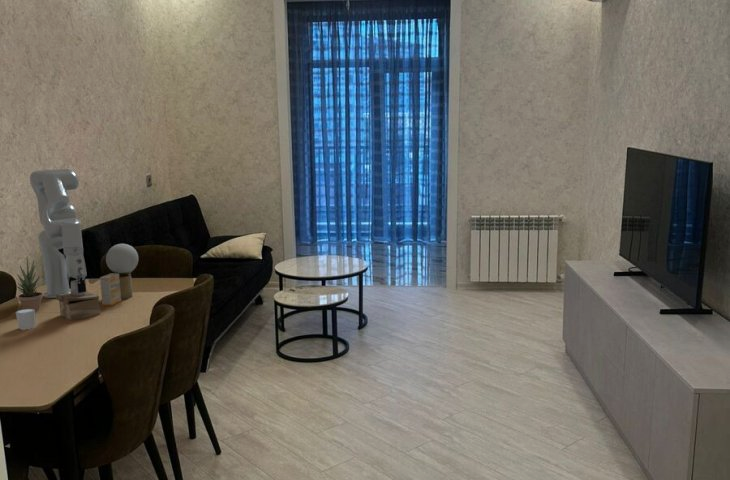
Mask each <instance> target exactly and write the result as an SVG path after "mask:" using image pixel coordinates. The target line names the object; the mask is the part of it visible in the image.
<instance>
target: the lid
mask: <svg viewBox="0 0 730 480" xmlns="http://www.w3.org/2000/svg"><path fill="white" fill-rule="evenodd" d="M96 298H100V297H99V295H96V294H95V293H92V292H89V291H88V290H86V292H85V296H80V297H74V296H71V293H67V294H58V295H57V298H56V300H57V301H58V302H59V301H61V302H63V303H65V304H67V305H69V301H78V300H87V299H96Z"/></svg>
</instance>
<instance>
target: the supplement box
mask: <svg viewBox="0 0 730 480" xmlns="http://www.w3.org/2000/svg"><path fill="white" fill-rule="evenodd" d="M99 281H100V292H101V293H100V294H101V303H102V306H104V307H105V306H106V307H110V306H111V307H112V306H114V305H116V304H118V303H120V302H122V300H121V291H120V280H119V274H118V273H115V272H113V273H108V274H105V275H103V276H100V277H99Z"/></svg>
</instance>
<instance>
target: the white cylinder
mask: <svg viewBox="0 0 730 480" xmlns="http://www.w3.org/2000/svg"><path fill="white" fill-rule="evenodd" d="M35 315H36V312H35V310H34V309H23V308H22V309H20V310H17V311H15V316H16V320H17V325H18V329H19V330H20V329H21V331H27V330H26V329H28V330H32V329H34V328H35V327H36V316H35ZM31 328H32V329H31Z"/></svg>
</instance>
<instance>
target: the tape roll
mask: <svg viewBox="0 0 730 480" xmlns="http://www.w3.org/2000/svg"><path fill="white" fill-rule="evenodd" d="M77 284H78V281H77V279H76V280H74V281H71V289H70V290H71V296H74V297H80V296H85V292H82V293H78V286H77Z"/></svg>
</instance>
